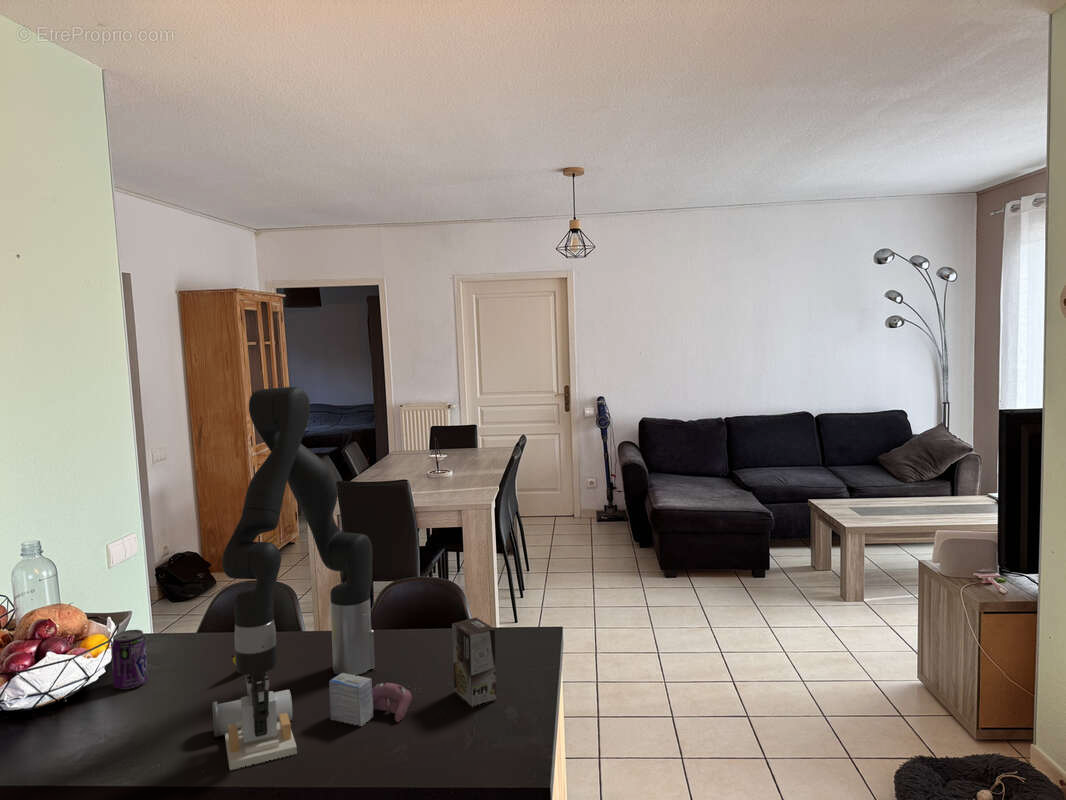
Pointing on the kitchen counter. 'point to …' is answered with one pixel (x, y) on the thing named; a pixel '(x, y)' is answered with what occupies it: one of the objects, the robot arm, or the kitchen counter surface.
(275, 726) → the grey box with knob
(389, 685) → the video game controller
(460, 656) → the coffee box
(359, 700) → the medicine box
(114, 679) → the beverage can
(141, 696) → the kitchen counter surface
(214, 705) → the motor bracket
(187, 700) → the kitchen counter surface
